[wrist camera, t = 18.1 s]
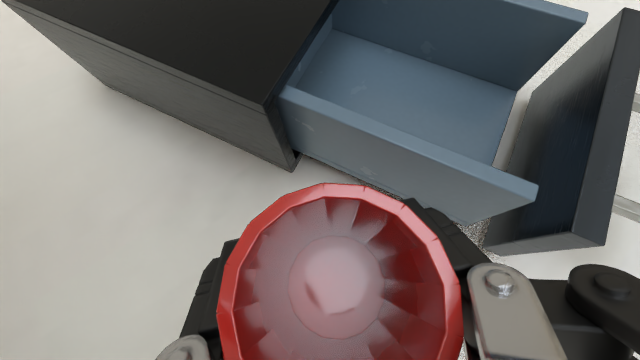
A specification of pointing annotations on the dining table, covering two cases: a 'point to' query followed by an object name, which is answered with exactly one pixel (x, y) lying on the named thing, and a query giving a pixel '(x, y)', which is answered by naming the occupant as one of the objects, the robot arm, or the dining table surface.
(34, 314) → the dining table surface
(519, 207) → the dish drawer
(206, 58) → the black drawer casing
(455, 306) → the red tumbler
